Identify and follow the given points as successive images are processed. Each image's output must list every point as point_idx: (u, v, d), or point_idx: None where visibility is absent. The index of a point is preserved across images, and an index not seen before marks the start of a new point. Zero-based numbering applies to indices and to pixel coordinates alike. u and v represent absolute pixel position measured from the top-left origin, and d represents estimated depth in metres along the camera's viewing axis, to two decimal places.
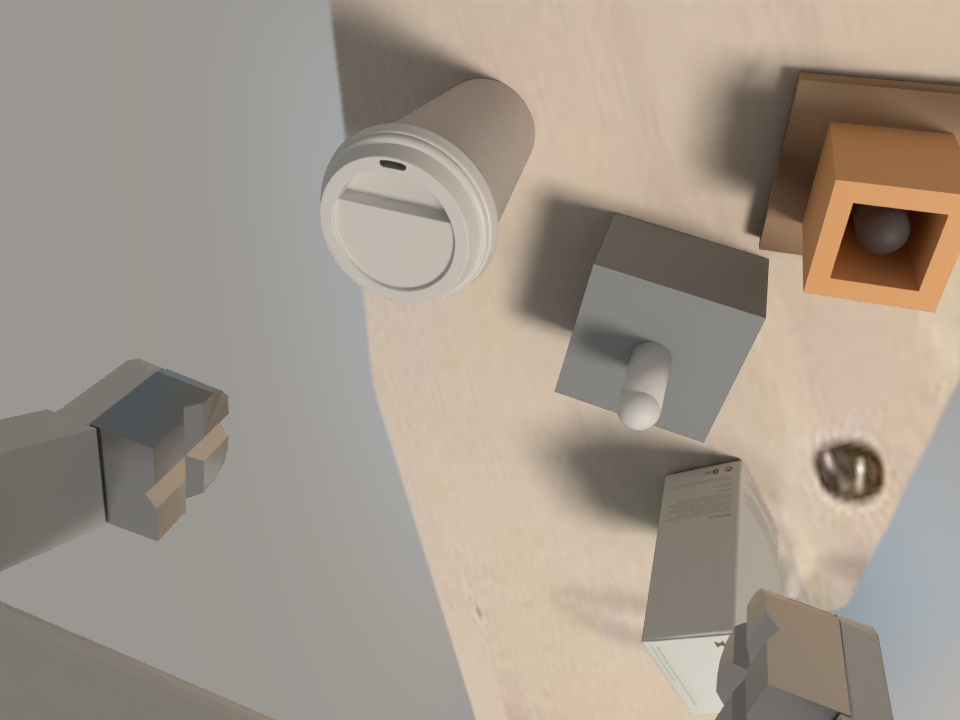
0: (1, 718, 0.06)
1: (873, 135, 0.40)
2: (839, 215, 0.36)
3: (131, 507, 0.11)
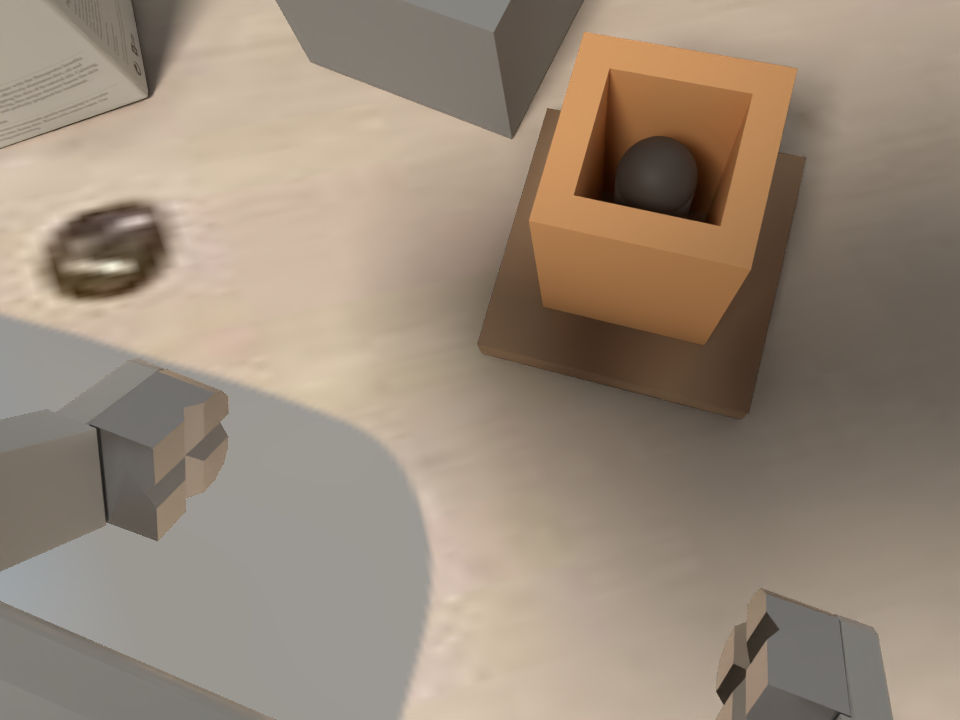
0: (1, 718, 0.06)
1: None
2: (730, 76, 0.21)
3: (131, 507, 0.11)
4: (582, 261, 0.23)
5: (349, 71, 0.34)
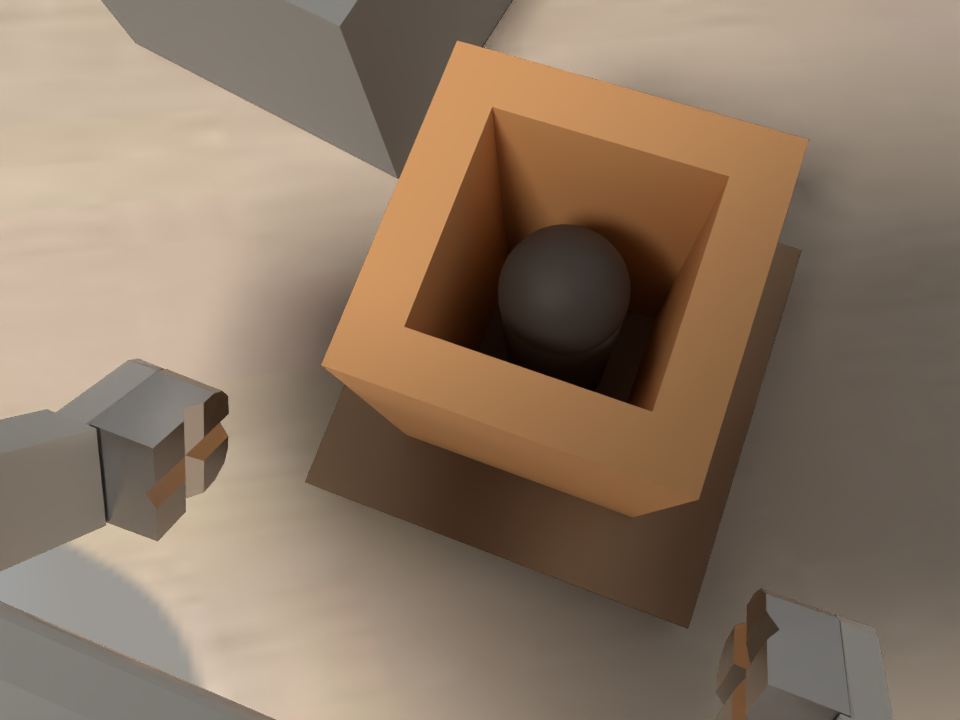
0: (1, 718, 0.06)
1: None
2: (694, 141, 0.12)
3: (131, 507, 0.11)
4: (430, 419, 0.14)
5: (182, 61, 0.24)
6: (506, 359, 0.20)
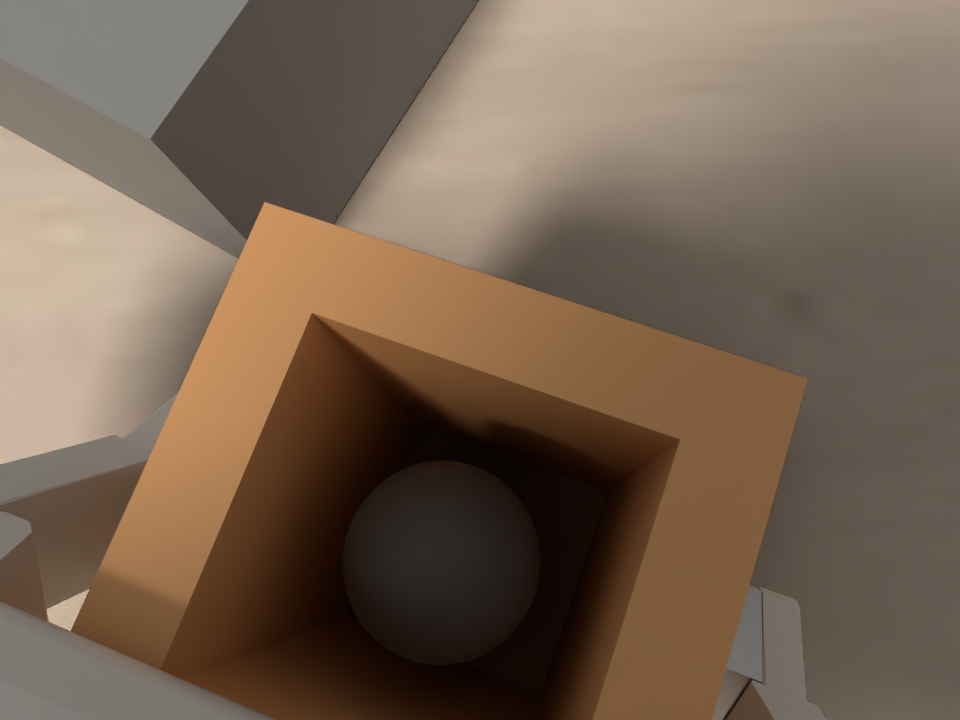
0: (1, 718, 0.06)
1: None
2: (625, 378, 0.08)
3: None
4: None
5: (28, 138, 0.19)
6: None
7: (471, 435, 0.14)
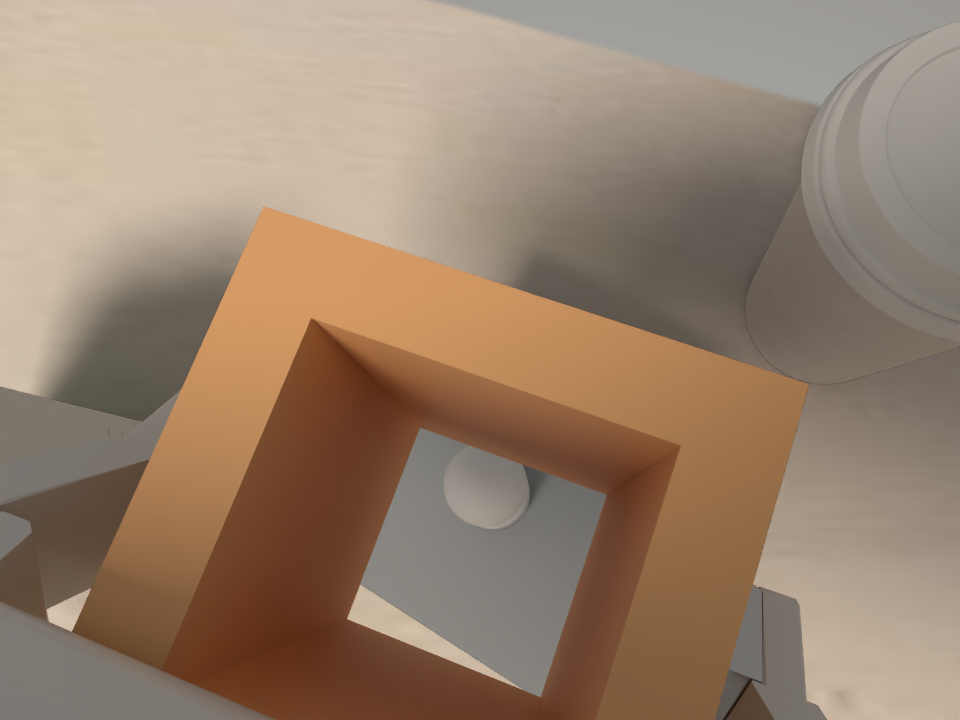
0: (1, 718, 0.06)
1: None
2: (626, 383, 0.08)
3: None
4: None
5: None
6: None
7: (471, 438, 0.14)
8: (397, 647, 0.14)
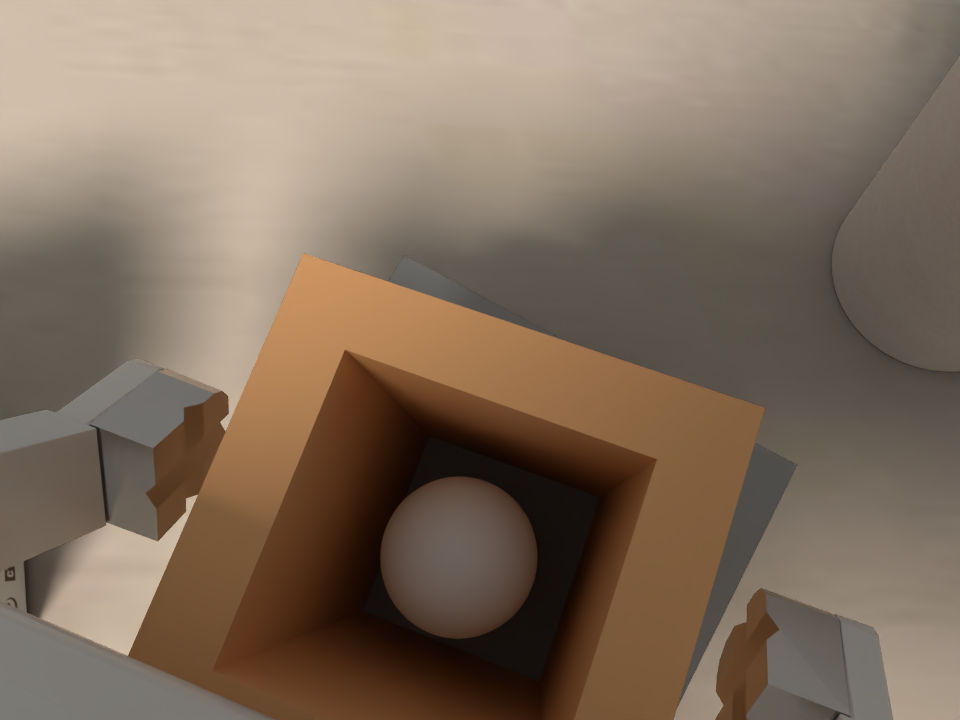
0: (1, 718, 0.06)
1: None
2: (611, 406, 0.09)
3: (131, 507, 0.11)
4: None
5: None
6: None
7: (477, 446, 0.16)
8: (409, 636, 0.16)
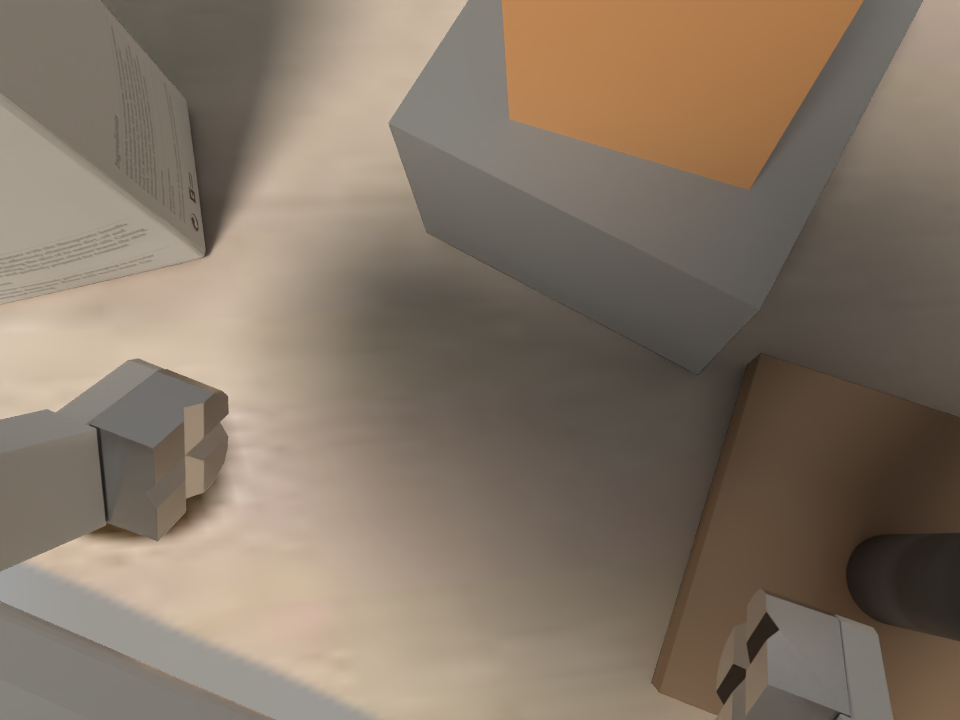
0: (1, 718, 0.06)
1: None
2: None
3: (131, 507, 0.11)
4: None
5: (482, 256, 0.25)
6: (842, 572, 0.21)
7: None
8: None
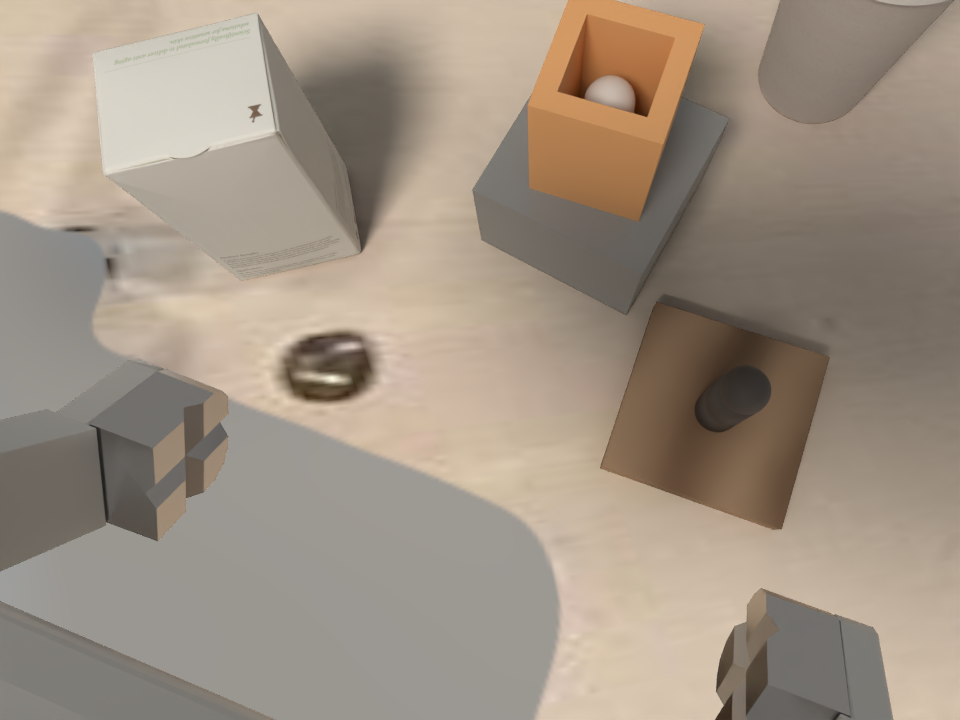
0: (1, 718, 0.06)
1: None
2: (662, 25, 0.34)
3: (131, 507, 0.11)
4: (559, 141, 0.35)
5: (512, 253, 0.47)
6: (693, 408, 0.43)
7: None
8: None
